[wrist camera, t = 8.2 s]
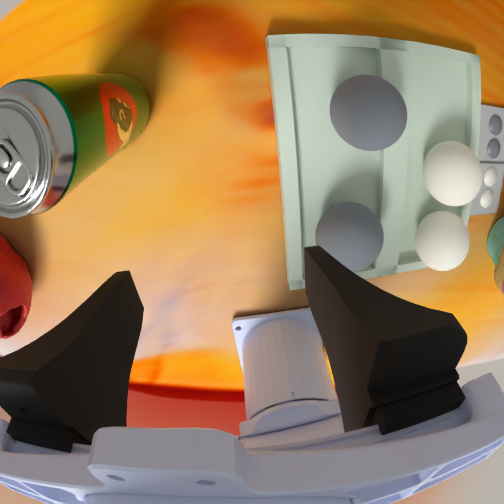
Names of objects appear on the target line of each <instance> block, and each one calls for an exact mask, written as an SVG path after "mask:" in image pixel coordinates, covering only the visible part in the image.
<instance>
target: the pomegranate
mask: <svg viewBox="0 0 504 504" xmlns="http://www.w3.org/2000/svg"><path fill="white" fill-rule="evenodd" d="M31 298H32V281H31V276H30V273H29V270H28V267H27V265H26V263H25V261H24V259H23V258H22V257H21V256H20V255H19V254H17V253H16V252H15V251H14V250H13V249H12V248H11V247H10V244H9V243H8V241H7V240H6V239H5V238H4V237H3V236H1V235H0V338H4V339H6V338H9V337H11V336H13V335H15V334H16V333H17V332H19V330H20V329H21V328H22V326H23V325H24V323H25V321H26V319H27V316H28V314H29V311H30V307H31Z"/></svg>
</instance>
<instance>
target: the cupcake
mask: <svg viewBox="0 0 504 504" xmlns="http://www.w3.org/2000/svg"><path fill="white" fill-rule="evenodd" d="M487 250H488V252H489V254H490V256H491V258H492V260H493V262H494V264H495V267H496V268H495V271H494V279H495V282H496V285H497V287H498V288H499V289H500V291H501V292H502V293H503V294H504V216H503V217H501V218H500V219H499V220H498V221H497V222H496V223H495V224H494V226H493V227H492V229H491V231H490V233H489V236H488V240H487Z"/></svg>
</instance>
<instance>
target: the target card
mask: <svg viewBox="0 0 504 504" xmlns="http://www.w3.org/2000/svg"><path fill="white" fill-rule="evenodd" d="M478 159H479V162H480V164H481V167H482V174H483V179H482V185H481V188H480V190H479V192H478V194H477V195H476V197H475V198H474V199H473V200H472V203H471V209H470V215H469V216H473V215H482V214H490V213H497V210H498V205H499V200H500V194H501V189H502V183H503V176H504V108H500V107H494V106H489V105H483V104H481V120H480V137H479V150H478Z"/></svg>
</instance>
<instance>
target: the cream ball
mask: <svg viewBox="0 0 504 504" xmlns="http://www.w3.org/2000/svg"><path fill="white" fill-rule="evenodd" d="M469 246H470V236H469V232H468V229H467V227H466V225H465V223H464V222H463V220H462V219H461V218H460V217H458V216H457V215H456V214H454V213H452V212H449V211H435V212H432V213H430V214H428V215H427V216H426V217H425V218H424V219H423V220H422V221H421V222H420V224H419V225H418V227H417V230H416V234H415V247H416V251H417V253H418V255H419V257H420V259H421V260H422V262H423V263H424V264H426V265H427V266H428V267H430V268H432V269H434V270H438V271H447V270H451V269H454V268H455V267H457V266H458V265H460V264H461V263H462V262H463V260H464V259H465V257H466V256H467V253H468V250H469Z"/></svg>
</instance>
